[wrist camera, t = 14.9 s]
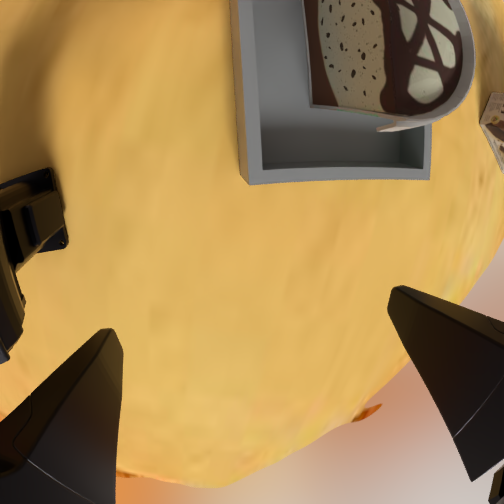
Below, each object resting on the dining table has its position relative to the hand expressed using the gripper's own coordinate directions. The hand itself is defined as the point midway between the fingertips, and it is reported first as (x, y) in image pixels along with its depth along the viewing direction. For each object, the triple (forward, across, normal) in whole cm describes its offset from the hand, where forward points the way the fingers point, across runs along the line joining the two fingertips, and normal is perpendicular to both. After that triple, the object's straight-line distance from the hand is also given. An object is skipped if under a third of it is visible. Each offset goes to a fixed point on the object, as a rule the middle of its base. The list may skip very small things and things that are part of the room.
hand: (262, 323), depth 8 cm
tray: (+13, -8, -12) cm, 19 cm away
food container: (+12, -9, -12) cm, 19 cm away
